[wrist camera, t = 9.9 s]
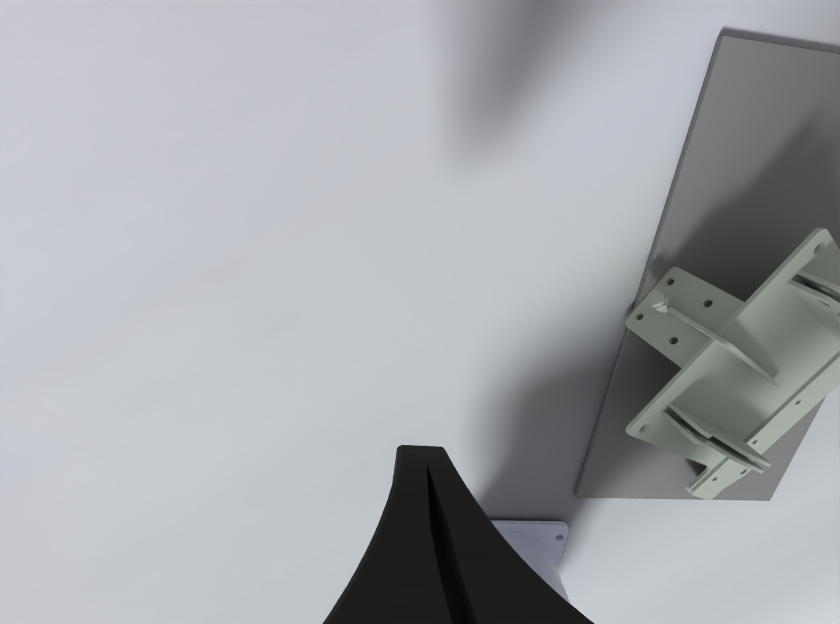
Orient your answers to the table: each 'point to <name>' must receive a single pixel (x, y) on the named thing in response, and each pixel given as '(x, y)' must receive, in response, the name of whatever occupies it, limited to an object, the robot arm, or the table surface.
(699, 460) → the metal bracket
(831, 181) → the rubber mat
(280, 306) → the table surface
